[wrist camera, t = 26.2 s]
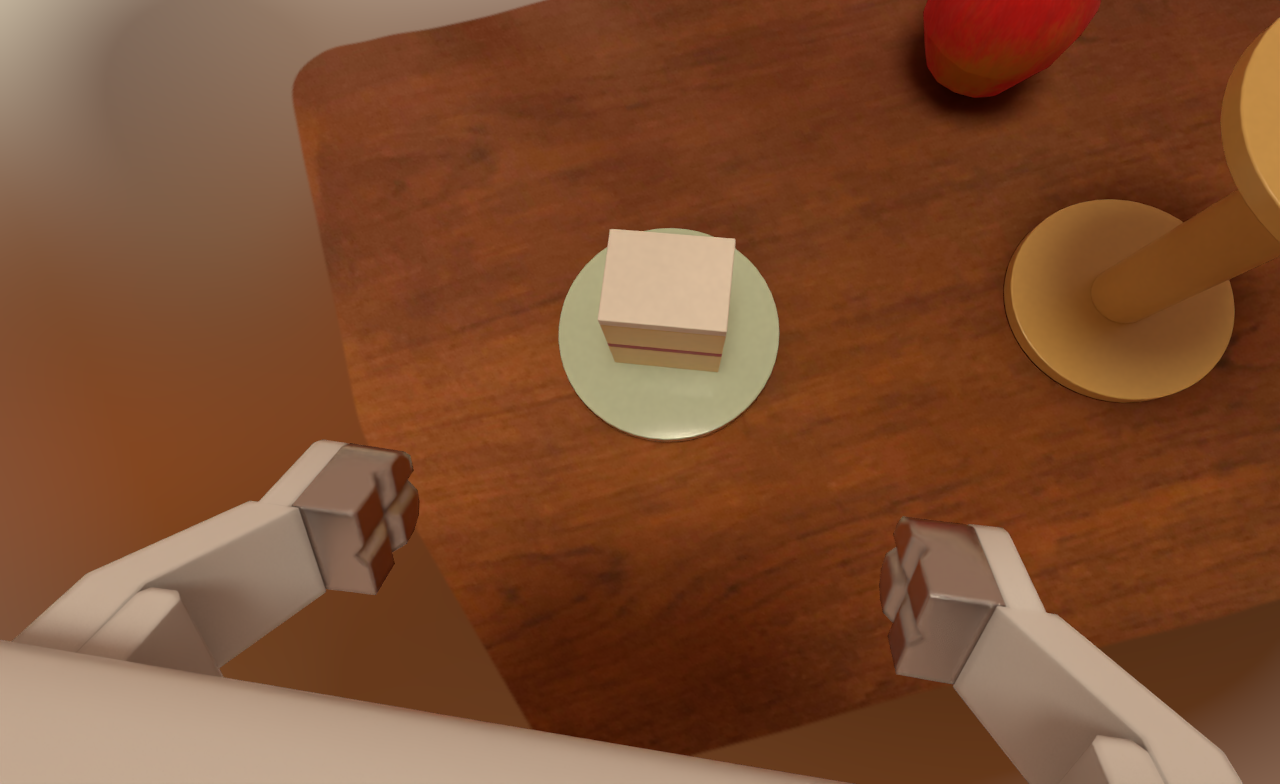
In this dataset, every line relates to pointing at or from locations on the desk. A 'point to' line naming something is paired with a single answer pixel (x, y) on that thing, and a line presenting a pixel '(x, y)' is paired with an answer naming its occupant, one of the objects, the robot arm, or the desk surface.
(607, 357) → the plate
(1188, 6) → the desk surface
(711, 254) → the cake slice
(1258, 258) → the cake stand
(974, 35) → the apple
